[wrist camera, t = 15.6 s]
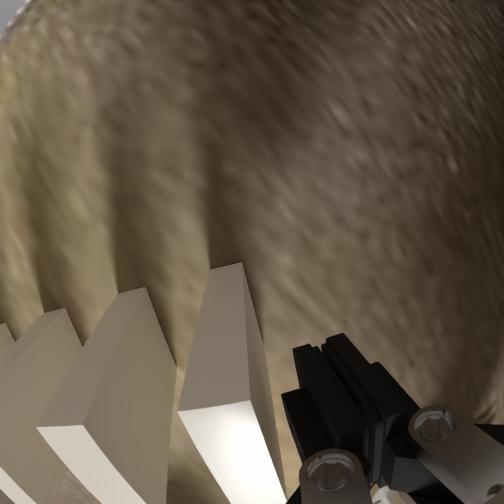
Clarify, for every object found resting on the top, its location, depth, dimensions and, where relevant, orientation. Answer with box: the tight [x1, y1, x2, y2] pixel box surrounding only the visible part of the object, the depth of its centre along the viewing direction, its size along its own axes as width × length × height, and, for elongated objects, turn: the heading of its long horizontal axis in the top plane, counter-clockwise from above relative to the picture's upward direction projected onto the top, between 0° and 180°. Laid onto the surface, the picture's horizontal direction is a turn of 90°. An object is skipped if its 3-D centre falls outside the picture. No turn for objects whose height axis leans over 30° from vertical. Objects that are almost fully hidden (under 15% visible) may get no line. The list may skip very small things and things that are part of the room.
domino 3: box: [177, 262, 288, 504], centre depth 12 cm, size 2×5×10 cm, turn 13°
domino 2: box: [36, 287, 177, 504], centre depth 11 cm, size 2×5×10 cm, turn 13°
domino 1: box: [0, 308, 83, 504], centre depth 11 cm, size 2×5×10 cm, turn 13°
